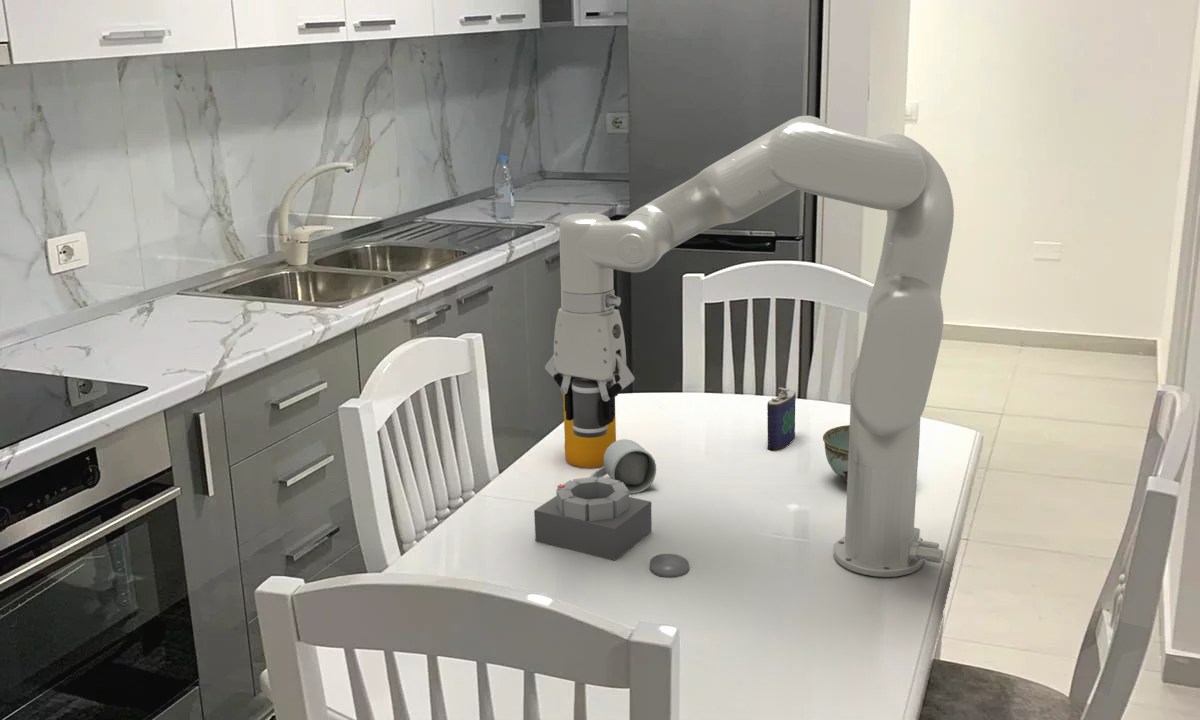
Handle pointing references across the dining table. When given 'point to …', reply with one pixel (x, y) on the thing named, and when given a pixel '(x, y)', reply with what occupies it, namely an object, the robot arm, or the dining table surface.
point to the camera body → (593, 518)
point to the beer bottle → (587, 445)
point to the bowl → (838, 450)
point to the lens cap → (669, 565)
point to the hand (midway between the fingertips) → (589, 419)
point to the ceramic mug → (628, 465)
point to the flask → (781, 420)
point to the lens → (586, 408)
